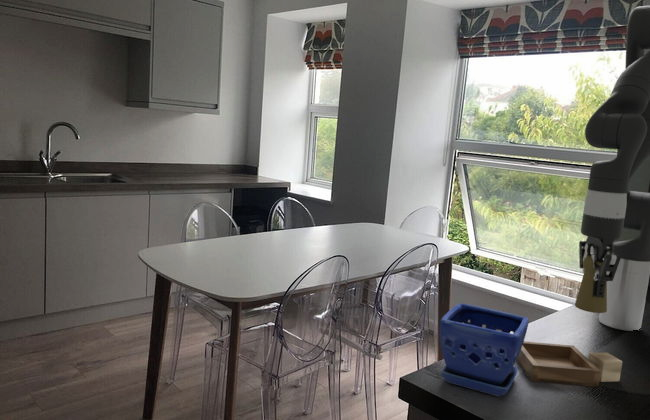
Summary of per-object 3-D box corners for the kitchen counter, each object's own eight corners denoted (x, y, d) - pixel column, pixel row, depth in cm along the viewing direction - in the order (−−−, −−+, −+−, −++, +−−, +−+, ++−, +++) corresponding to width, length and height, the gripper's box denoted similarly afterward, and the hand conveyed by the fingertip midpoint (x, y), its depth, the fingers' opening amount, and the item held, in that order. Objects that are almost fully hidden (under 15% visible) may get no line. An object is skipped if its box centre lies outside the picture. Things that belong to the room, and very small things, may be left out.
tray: (511, 354, 110) (513, 340, 110) (571, 359, 110) (573, 345, 109) (531, 380, 98) (533, 365, 98) (598, 387, 98) (600, 371, 98)
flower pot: (451, 359, 106) (457, 300, 104) (522, 377, 100) (530, 315, 98) (431, 384, 94) (438, 318, 92) (510, 407, 88) (520, 337, 86)
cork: (610, 314, 109) (618, 261, 107) (578, 310, 110) (585, 258, 108) (602, 305, 115) (609, 254, 113) (571, 301, 116) (578, 251, 114)
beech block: (586, 372, 104) (589, 352, 104) (604, 372, 105) (607, 352, 105) (600, 382, 100) (604, 361, 100) (619, 381, 101) (622, 361, 101)
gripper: (641, 220, 102) (627, 308, 105) (606, 209, 116) (595, 286, 119) (600, 218, 103) (588, 305, 105) (571, 206, 117) (560, 283, 119)
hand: (592, 294), depth 112 cm, fingers closed on cork, 3 cm apart
